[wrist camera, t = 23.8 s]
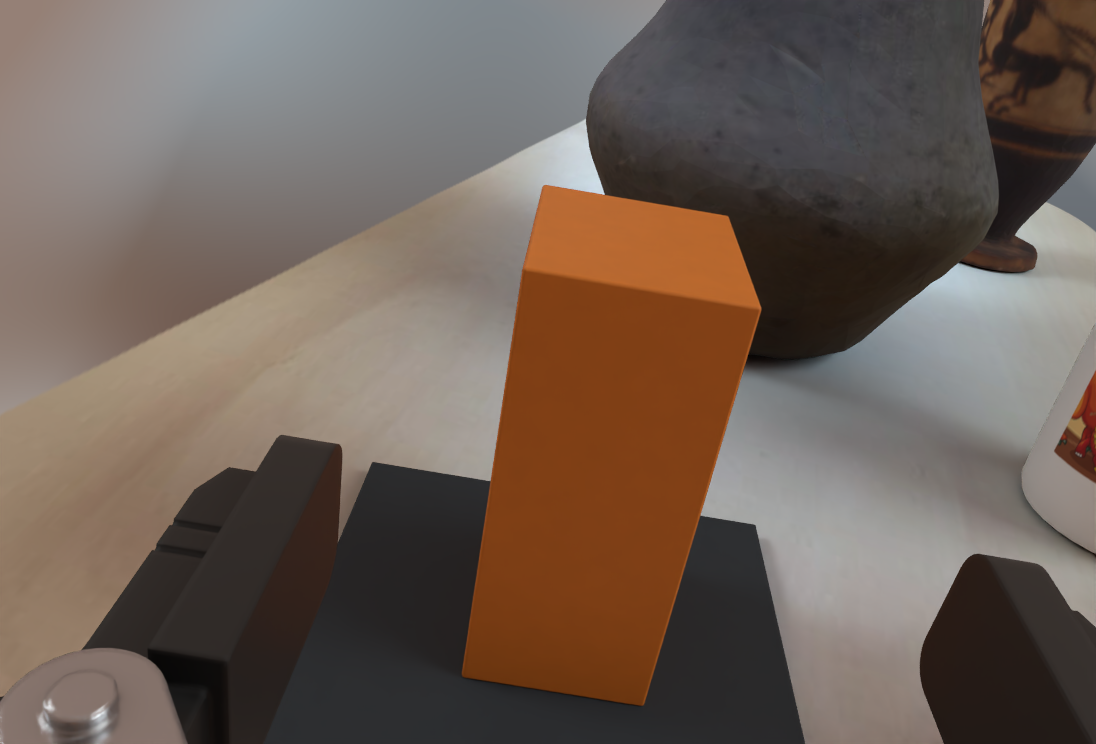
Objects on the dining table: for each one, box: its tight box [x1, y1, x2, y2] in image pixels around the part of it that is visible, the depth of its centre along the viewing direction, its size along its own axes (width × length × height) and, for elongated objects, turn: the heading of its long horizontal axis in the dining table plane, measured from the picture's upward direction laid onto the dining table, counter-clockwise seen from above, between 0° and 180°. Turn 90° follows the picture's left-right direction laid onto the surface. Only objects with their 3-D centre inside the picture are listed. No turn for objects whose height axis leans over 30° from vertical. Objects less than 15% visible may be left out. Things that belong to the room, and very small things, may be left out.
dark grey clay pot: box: [586, 0, 999, 359], centre depth 44 cm, size 21×22×25 cm
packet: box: [462, 185, 761, 706], centre depth 24 cm, size 5×6×12 cm
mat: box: [264, 462, 805, 744], centre depth 27 cm, size 14×12×1 cm
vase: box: [961, 0, 1096, 272], centre depth 60 cm, size 11×11×30 cm
